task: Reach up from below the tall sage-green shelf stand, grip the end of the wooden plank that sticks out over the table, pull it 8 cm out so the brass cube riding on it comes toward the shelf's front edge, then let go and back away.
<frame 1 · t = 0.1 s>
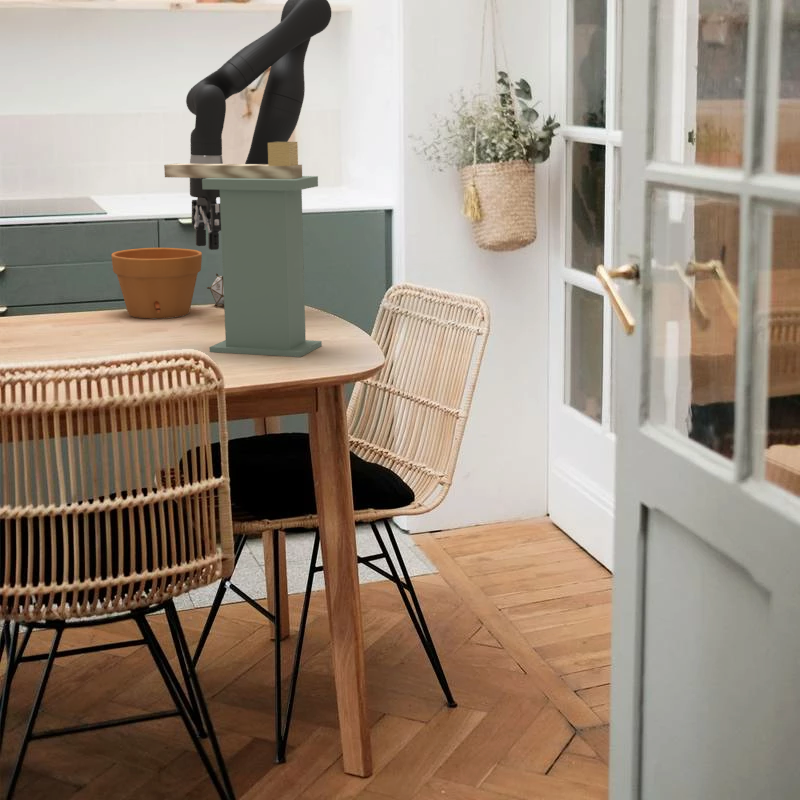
hand: (207, 247, 296), 17 cm above the table, tool pointing down, fingers open, 8 cm apart
shelf stand: (266, 348, 269), on the table
wooden plank: (233, 177, 262), point 35 cm above the table, touching cube, shelf stand
cube: (283, 165, 258), point 37 cm above the table, touching wooden plank
game die: (226, 306, 322), on the table
flower pot: (160, 314, 312), on the table
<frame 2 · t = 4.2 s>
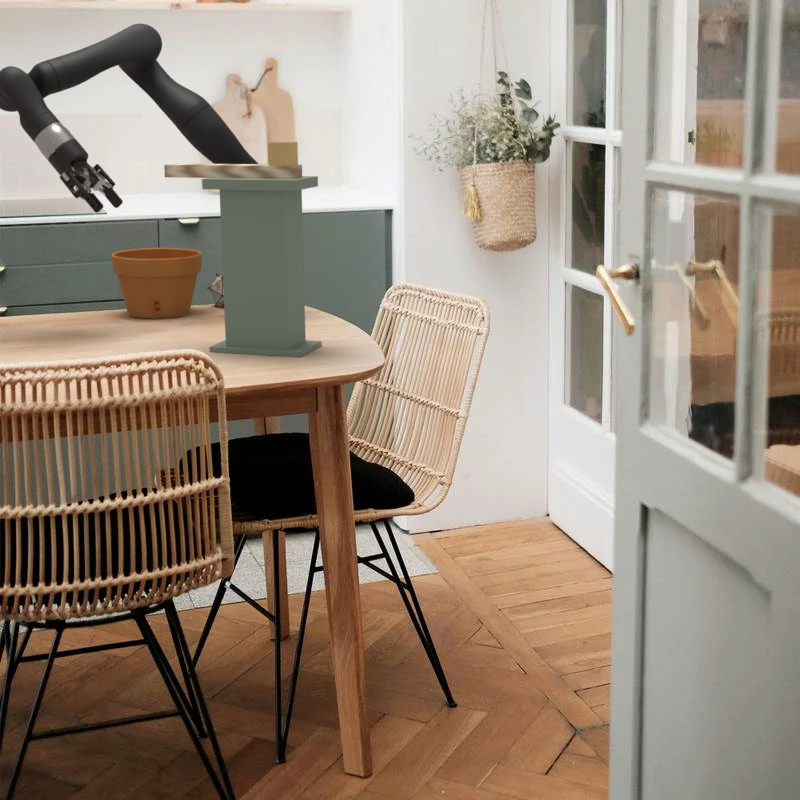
hand: (110, 207, 277), 28 cm above the table, tool tilted 40°, fingers open, 8 cm apart
nothing on the table moved.
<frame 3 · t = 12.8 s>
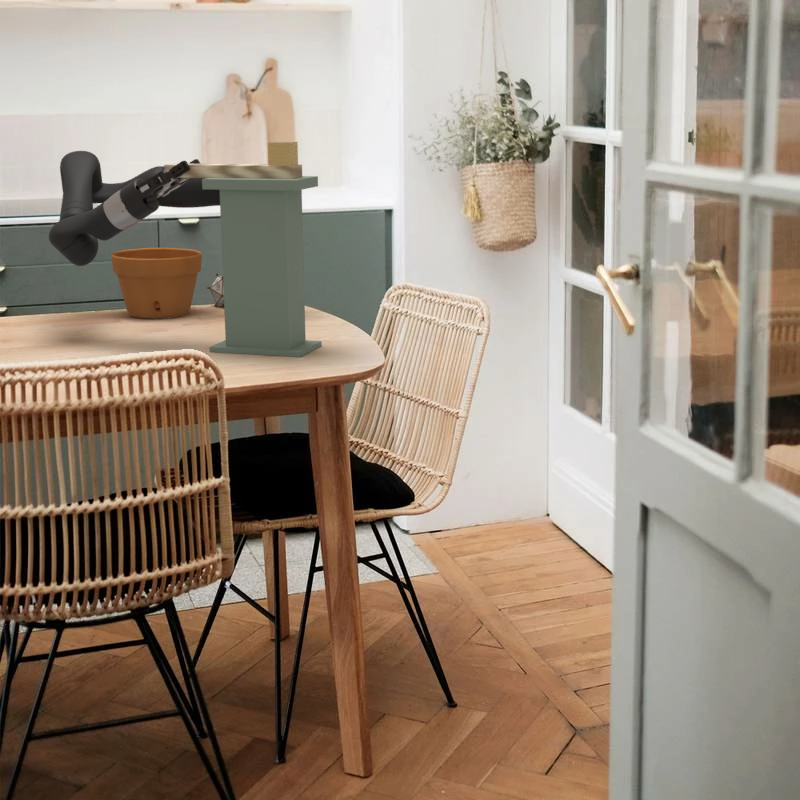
hand: (193, 164, 264), 38 cm above the table, tool pointing upward, fingers closed on wooden plank, 5 cm apart
wooden plank: (233, 177, 262), point 35 cm above the table, touching cube, gripper, shelf stand
everything else where it was.
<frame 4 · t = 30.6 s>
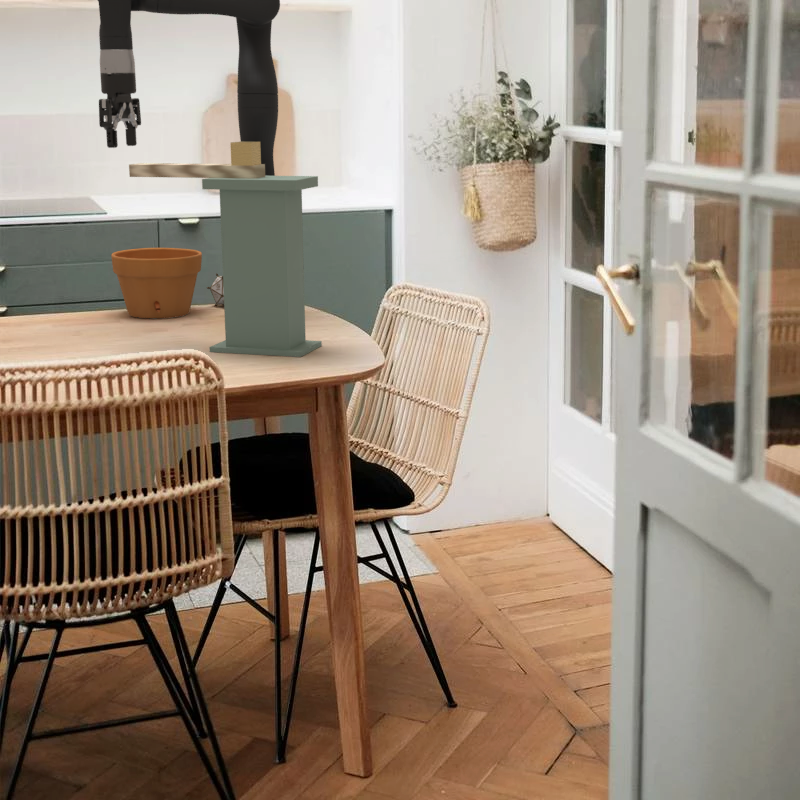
hand: (122, 146, 288), 40 cm above the table, tool pointing down, fingers open, 8 cm apart
wooden plank: (197, 176, 264), point 35 cm above the table, touching cube, shelf stand
cube: (246, 164, 261), point 37 cm above the table, touching wooden plank
everything else where it was.
at the end: cube moved 8.0 cm from its start; cube point 37.5 cm above the table; the gripper is holding nothing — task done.
